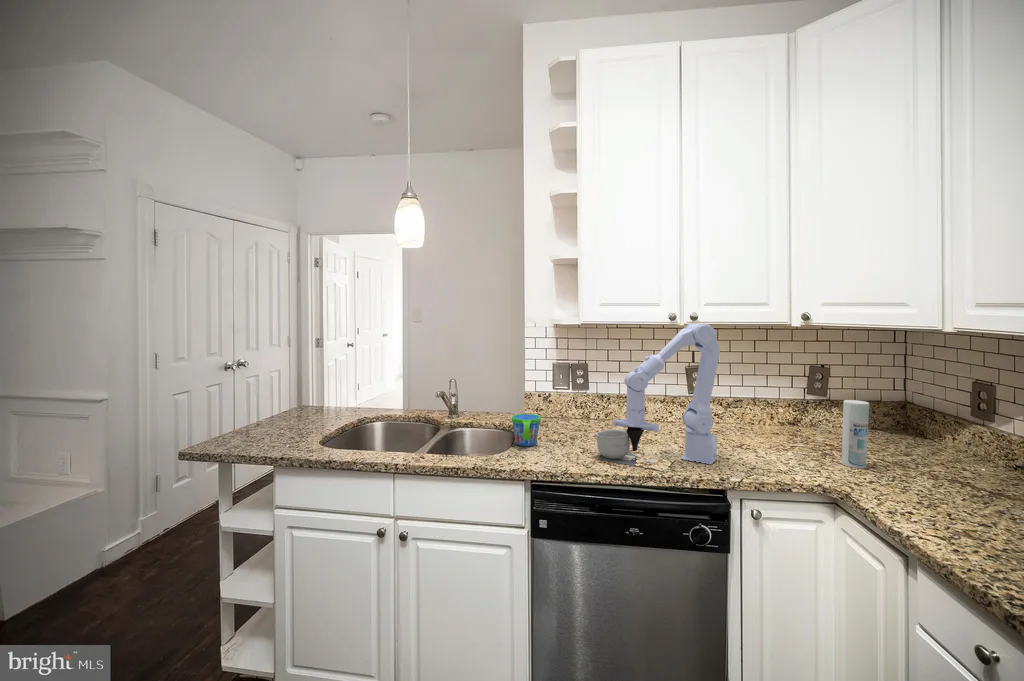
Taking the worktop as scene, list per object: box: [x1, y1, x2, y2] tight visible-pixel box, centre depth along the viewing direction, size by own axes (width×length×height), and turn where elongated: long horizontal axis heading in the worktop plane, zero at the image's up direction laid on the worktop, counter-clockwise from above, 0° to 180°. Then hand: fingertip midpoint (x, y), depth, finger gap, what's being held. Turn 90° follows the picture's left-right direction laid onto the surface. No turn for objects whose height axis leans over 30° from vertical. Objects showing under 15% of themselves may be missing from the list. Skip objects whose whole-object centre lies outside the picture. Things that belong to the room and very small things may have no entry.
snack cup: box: [511, 413, 542, 447], centre depth 171 cm, size 16×10×10 cm
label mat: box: [598, 451, 654, 466], centre depth 153 cm, size 21×13×1 cm, turn 56°
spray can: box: [841, 399, 870, 469], centre depth 147 cm, size 6×6×20 cm
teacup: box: [595, 428, 631, 459], centre depth 156 cm, size 14×11×8 cm
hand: (634, 450), depth 153 cm, fingers closed
